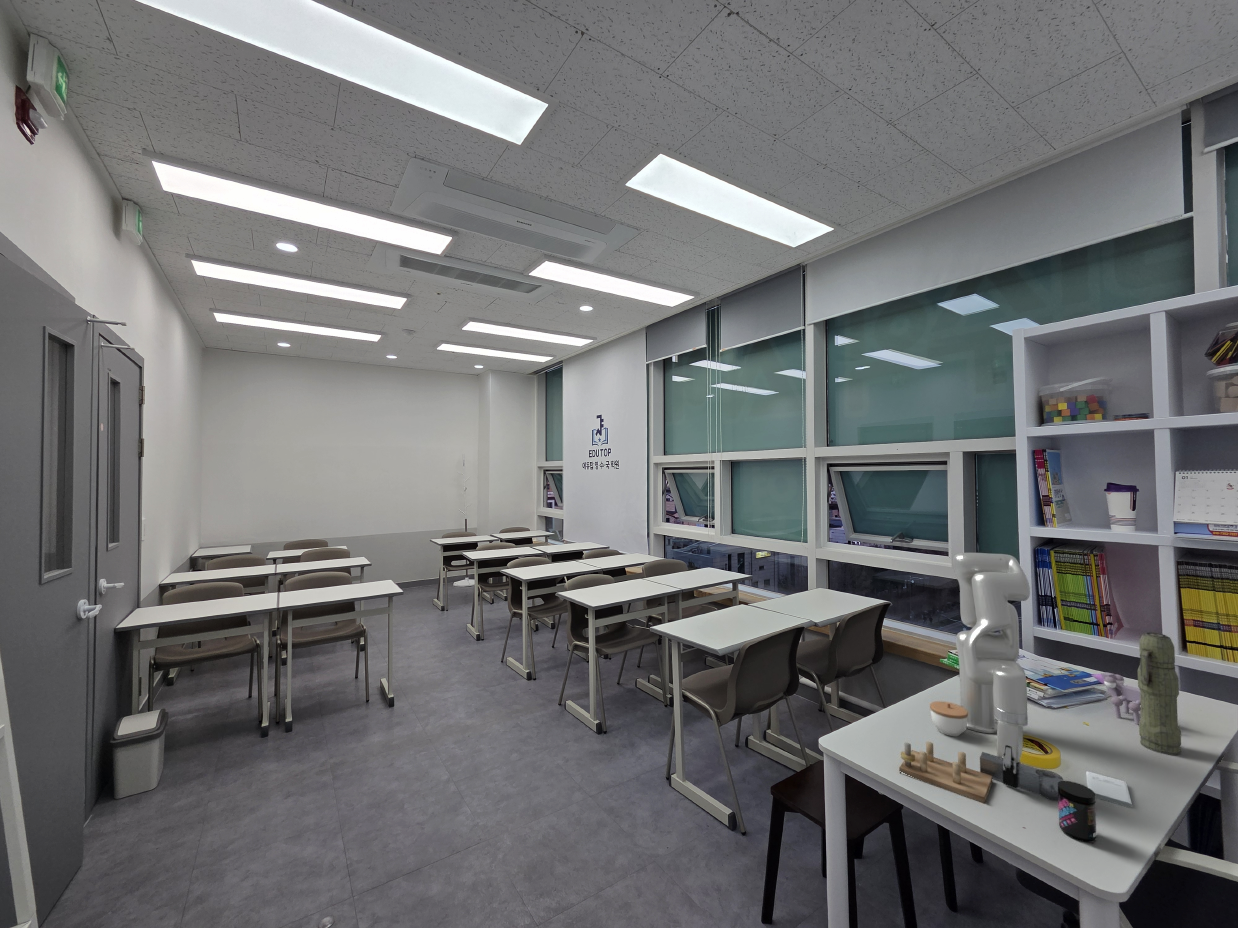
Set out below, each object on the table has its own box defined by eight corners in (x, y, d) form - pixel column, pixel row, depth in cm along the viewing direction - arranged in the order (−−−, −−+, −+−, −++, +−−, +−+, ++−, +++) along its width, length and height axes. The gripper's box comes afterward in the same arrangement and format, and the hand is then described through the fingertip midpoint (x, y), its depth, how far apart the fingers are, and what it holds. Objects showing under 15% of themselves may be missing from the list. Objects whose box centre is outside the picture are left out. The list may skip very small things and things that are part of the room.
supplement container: (1061, 819, 126) (1060, 777, 126) (1098, 834, 121) (1097, 789, 121) (1056, 832, 121) (1055, 788, 122) (1094, 848, 116) (1093, 801, 116)
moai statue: (1190, 751, 157) (1186, 636, 158) (1168, 758, 153) (1164, 640, 154) (1152, 737, 165) (1148, 628, 166) (1130, 743, 161) (1126, 632, 162)
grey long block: (983, 767, 148) (982, 750, 148) (1064, 793, 136) (1063, 774, 136) (979, 776, 144) (979, 757, 144) (1063, 803, 132) (1062, 783, 132)
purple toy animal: (1082, 707, 187) (1082, 669, 188) (1099, 703, 191) (1099, 667, 191) (1155, 732, 168) (1155, 690, 169) (1173, 728, 172) (1172, 687, 173)
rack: (910, 754, 156) (910, 729, 156) (992, 781, 142) (991, 754, 142) (898, 772, 146) (897, 745, 147) (984, 803, 132) (983, 773, 133)
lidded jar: (957, 724, 175) (956, 696, 175) (975, 740, 164) (975, 710, 164) (924, 723, 176) (923, 695, 176) (940, 738, 165) (940, 709, 165)
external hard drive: (1088, 797, 135) (1086, 775, 145) (1132, 809, 130) (1126, 787, 140) (1088, 790, 135) (1085, 770, 145) (1132, 803, 130) (1126, 780, 140)
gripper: (998, 700, 151) (1000, 762, 150) (988, 721, 138) (990, 788, 138) (1031, 708, 146) (1032, 772, 145) (1023, 730, 133) (1025, 800, 133)
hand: (1012, 779), depth 141 cm, fingers open, 6 cm apart
